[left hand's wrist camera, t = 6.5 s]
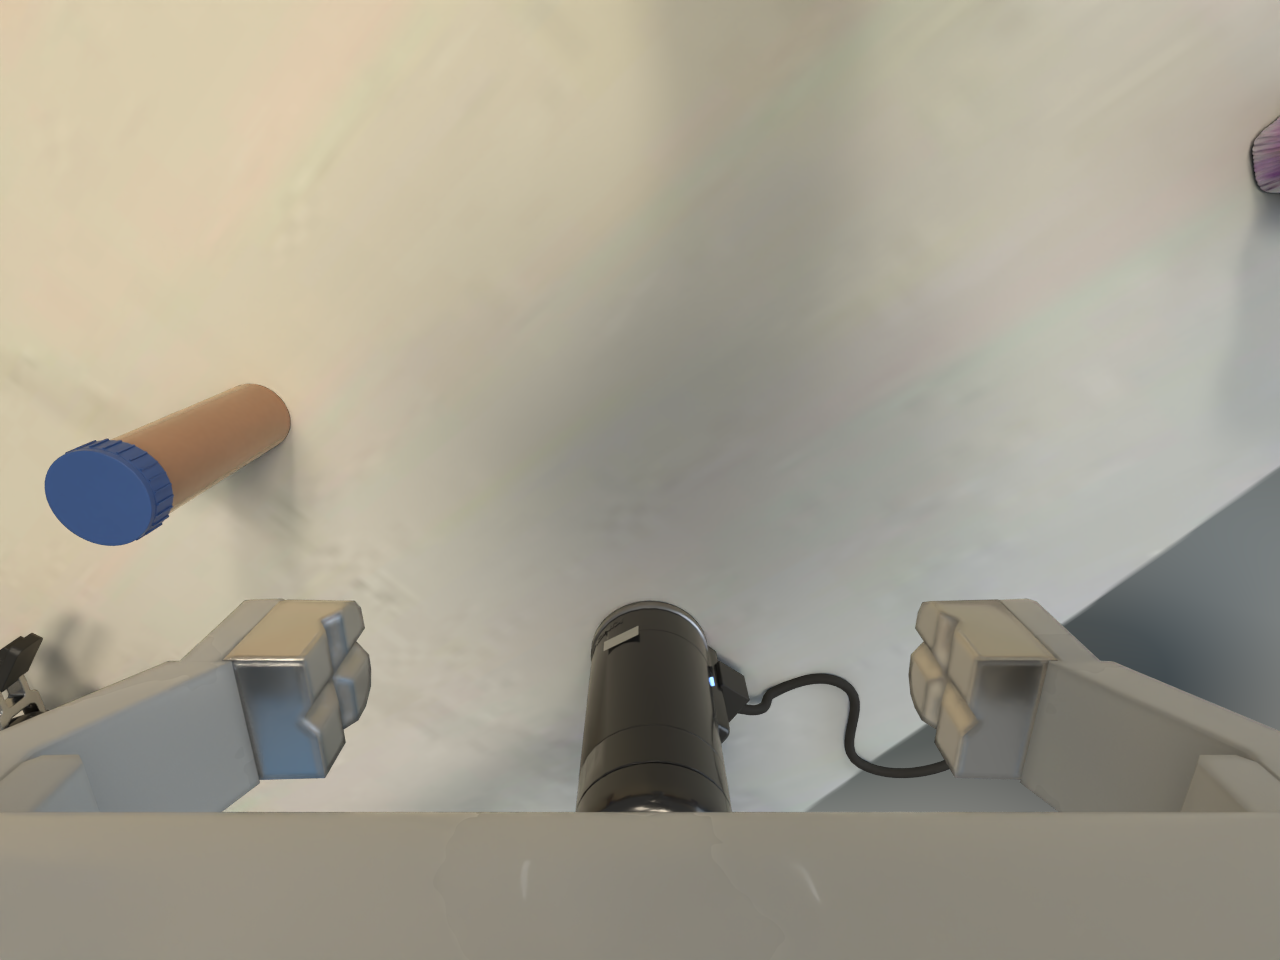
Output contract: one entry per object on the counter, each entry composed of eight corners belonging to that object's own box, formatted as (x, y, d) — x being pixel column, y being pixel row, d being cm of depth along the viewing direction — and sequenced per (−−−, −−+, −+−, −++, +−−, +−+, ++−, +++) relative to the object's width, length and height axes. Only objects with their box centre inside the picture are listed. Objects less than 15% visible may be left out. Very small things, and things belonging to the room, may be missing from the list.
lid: (168, 545, 38) (146, 560, 36) (66, 513, 37) (38, 527, 36) (182, 459, 36) (159, 471, 35) (75, 423, 36) (46, 434, 34)
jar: (283, 457, 51) (146, 550, 37) (217, 435, 50) (51, 520, 36) (296, 397, 49) (158, 470, 35) (227, 373, 48) (59, 438, 34)
